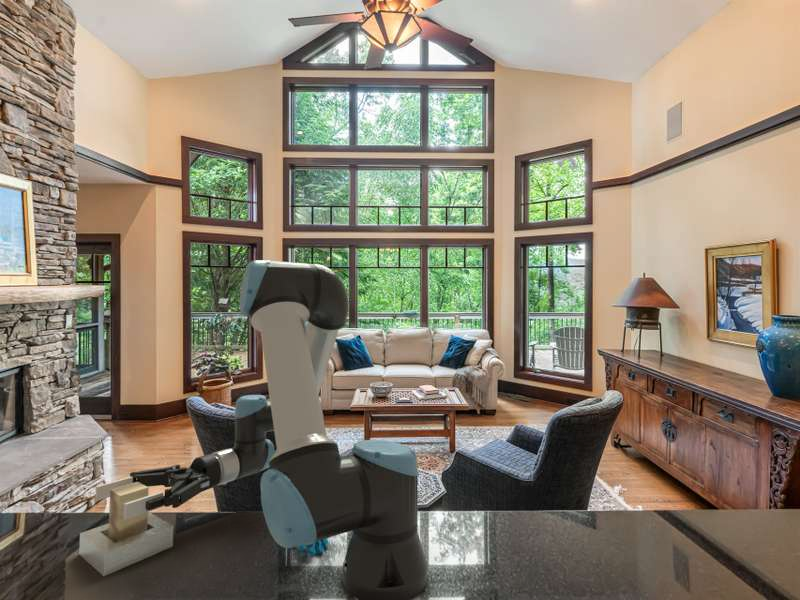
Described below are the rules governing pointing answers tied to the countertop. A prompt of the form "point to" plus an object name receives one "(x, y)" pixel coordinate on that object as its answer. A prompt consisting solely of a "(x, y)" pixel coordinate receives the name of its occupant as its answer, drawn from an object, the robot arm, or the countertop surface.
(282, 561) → the countertop surface
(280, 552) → the countertop surface
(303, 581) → the countertop surface
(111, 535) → the upright pine post
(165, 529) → the grey square frame block
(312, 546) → the blue lumpy piece
